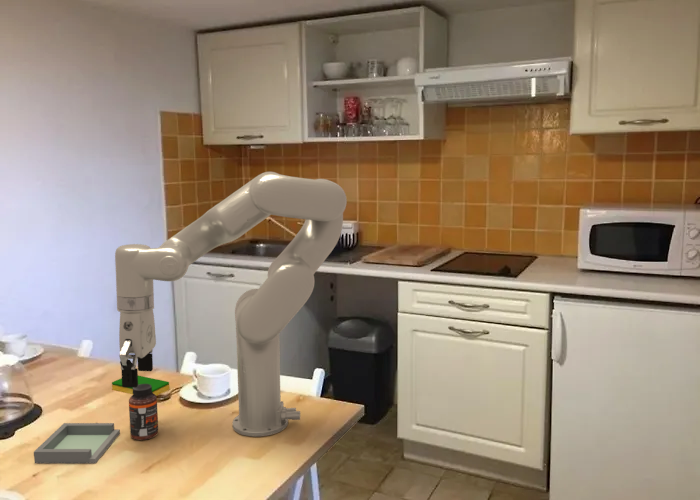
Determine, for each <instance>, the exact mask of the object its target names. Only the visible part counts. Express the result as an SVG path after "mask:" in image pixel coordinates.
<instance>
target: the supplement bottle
mask: <svg viewBox="0 0 700 500" xmlns="http://www.w3.org/2000/svg"><path fill="white" fill-rule="evenodd" d="M157 398H158V397H157V396H156V395H155V394H153V393H152V386H151V385H150V384H139V385H138V386H137V387H133V394H131V396H130V397H129V399H128V411H129V412H128V414H129V430H130V431H129V432H130V437H131V439H133V440H136V441H137V440H138V441H146V440H150V439H153V438H155V437H156V436H157V435H158V434H159V417H158V415H159V414H158V399H157Z"/></svg>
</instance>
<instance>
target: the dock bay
mask: <svg viewBox="0 0 700 500" xmlns="http://www.w3.org/2000/svg"><path fill="white" fill-rule="evenodd" d="M120 434H121V430H120V429H115V422H64V423H63V424H61V426H59V427H58V428H57V429H56V430H55V431H54V432H53V433H52V434H51V435H50V436H49V437H48V438H46V440H45V441H43V442H42V443H41V444H40V445H39V446H38V447H37V448H36V449H35V450H33V460H34V464H96V463H97V462H98V461H99V460H100V458H102V456H103V455H104V454H105V453H106V451H107V450H108V449H109V447H110V446H111V445H112V444H113V443H114V442H115V440H116V439H117V438H118V437H119V436H120Z"/></svg>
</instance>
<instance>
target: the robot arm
mask: <svg viewBox="0 0 700 500" xmlns="http://www.w3.org/2000/svg"><path fill="white" fill-rule="evenodd" d="M347 199H348V198H347V195H346V192H345V190H344V189H343V187H342V186H340V185H339V184H338V183H336V182H334V181H331V180H329V179H325V178H316V179H312V178H305V177H304V178H303V177H299V176H298V177H297V176H289V175H286V174H285V175H284V174H280V173H278V172H275V171H265V172H262V173H260V174H258V175H257V176H255V177H254V178H252V179H251V180H250V181H248V182H247V183H245V184H244V185H243V186H241V187H240V188H238V189H237V190H235V191H234V192H233V193H231V194H230V195H229V196H227V197H225V199H223V200H221V201H220V202H218V203H217V204H215V205H214V206H213V207H211V208H210V209H208V210H207V211H206V212H204V213H203V214H202V215H201V216H200V217H198V218H197V219H196V220H194V221H193V222H191V223H190V224H189V225H187V226H186V227H184V228H182V229H181V230H179V232H177V233H176V234H174V235H173V236H171V237H170V238H168V239H166V240H165V241H164V242H163V243H162V244H160V246H159V247H154V248H153V247H152V248H151V247H150V246H149V245H146V244H141V243H140V244H139V243H137V244H135V243H133V244H123V245H120V246H118V247H117V248H116V249H115V253H114V254H115V255H114V256H115V257H114V258H115V259H114V262H115V263H114V264H115V285H116V286H115V287H116V310H117V311H118V312H119V334H118V335H119V343H118V344H119V355H118V356H119V359H120V361H119V364H120V370H121V378H122V386H123V387H137V386H138V376H139V375H138V374H139V372H152V371H153V368H154V366H153V365H154V363H153V350H154V348H155V347H156V345H157V337H156V326H155V325H156V323H155V315H154V309H155V300H154V298H155V297H154V295H155V293H154V292H155V291H154V290H155V289H154V281H160V282H175V281H178V280H180V279H182V278H183V277H184V276H185V274H186V273H187V271H188V269H189V266H191V265H192V264H194V262H196V261H197V260H199V259H201V257H203V256H204V255H206V254H207V253H209V252H211V251H212V250H214V249H215V248H217V247H219V246H221V245H224V244H227V243H228V244H229V243H231V242H233V241H235V240H237V239H239V238H241V237H242V236H243V235H245V234H246V233H247V232H249V231H251V229H253V228H254V227H256V226H257V225H258V224H260V223H261V222H263V221H264V220H266V219H267V218H269V217H270V216H271V215H272V216H277V217H283V218H291V219H292V218H293V219H299V220H304V223H303V225H302V227H301V228H300V230H299V231H298V232H297V234H295V237H293V239H292V240H291V241H290V242H289V243H288V244H287V246H286V247H285V248H284V249H283V250H282V251H281V253H279V255H278V256H276V258H274V260H273V261H272V262H271V263H270V264H269V267H268V271H267V278H266V279H265V281H264V282H263V283H262V284H261V286H260V287H259V288H251V289H249V290H246V291H245V292H243V293H242V294H241V295H240V297H239V298H238V300H236V301H237V302H236V303H235V306H234V308H235V309H234V319H235V321H234V322H235V334H236V336H235V337H236V340H235V341H236V360H237V361H236V366H237V369H236V371H237V391H238V392H237V393H238V394H237V395H238V397H237V398H238V415H237V416H236V417H234V419H233V420H232V423H231V424H232V430H234V431H235V433H238V434H240V435H242V436H246V437H255V438H258V437H267V436H272V435H275V434H277V433H280V432H282V431H283V430H285V429H286V428H287V427H288V425H289V420H294V421H297V420H298V421H299V420H301V411H300V410H297V407H289V408H288V407H286V406H284V400H283V401H281V363H280V359H281V358H280V357H281V353H280V347H281V346H280V334H281V332H282V331H283V330H284V329H285V328H286V326H288V324H289V323H290V322H291V320H292V319H293V318H295V316H296V315H297V313H299V311H300V310H301V309H302V308H303V307H304V305H305V304H306V303H307V301H308V300H309V298H310V297H311V295H312V293H313V291H314V289H315V276H314V275H315V273H316V272H317V271H318V269H320V267H321V266H322V264H323V263H325V261H326V259H327V258H328V257H329V255H330V254H331V253H332V251H333V250H334V248H335V247H336V245H337V244H338V242H339V239H340V237H341V234H342V231H343V224H344V212H345V210H346V208H347V207H346V206H347V202H348V200H347ZM131 360H132V361H131Z"/></svg>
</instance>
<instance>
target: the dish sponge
mask: <svg viewBox="0 0 700 500" xmlns="http://www.w3.org/2000/svg"><path fill="white" fill-rule="evenodd" d="M139 384H150V385H151V386H152V393H153V394H155V395H156V397H157V396H159V395H161V394H163V393H165V392H167V391H169V390H170V381H168V380H161V379H158V378H152V377H148V376H142V375H138V385H139ZM111 390H113V391H116V392H121V393H125V394H129V395H133V387H123V386H122V377H121V378H119V379H117V380H114V381H112V382H111Z"/></svg>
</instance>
